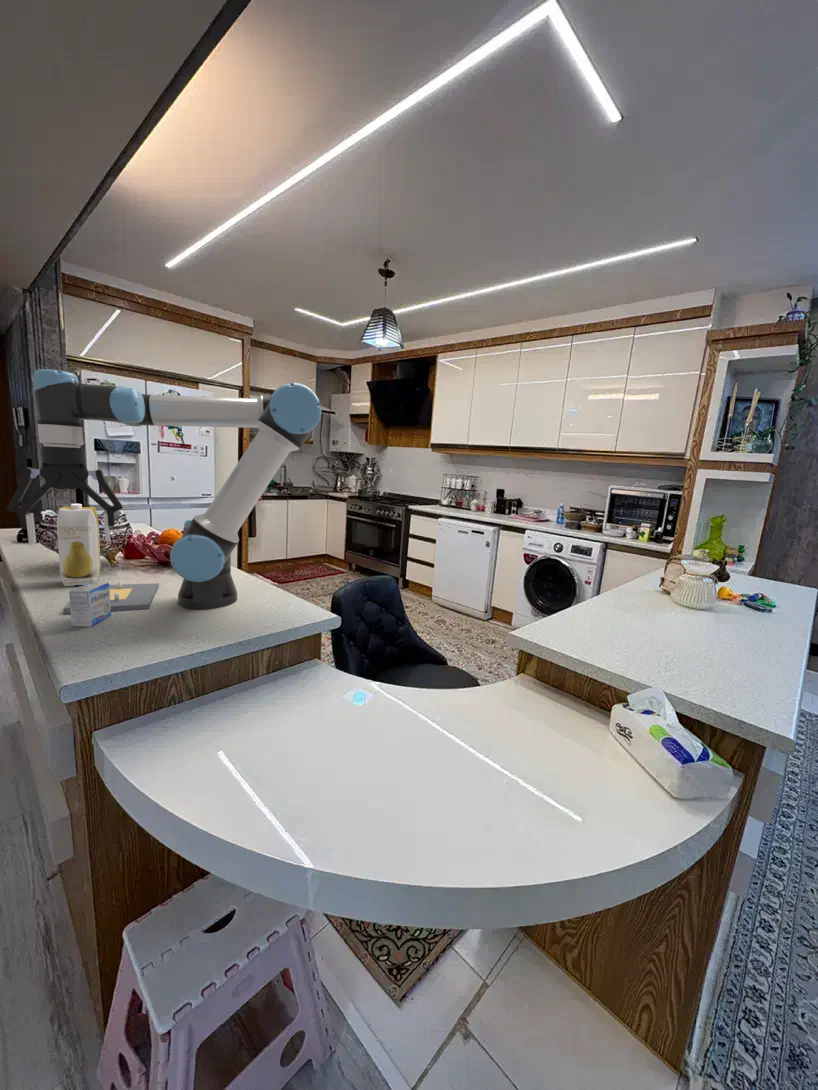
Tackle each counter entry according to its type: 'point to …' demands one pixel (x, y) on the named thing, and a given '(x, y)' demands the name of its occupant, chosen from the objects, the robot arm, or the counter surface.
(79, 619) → the medicine box
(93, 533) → the juice carton
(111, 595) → the board
